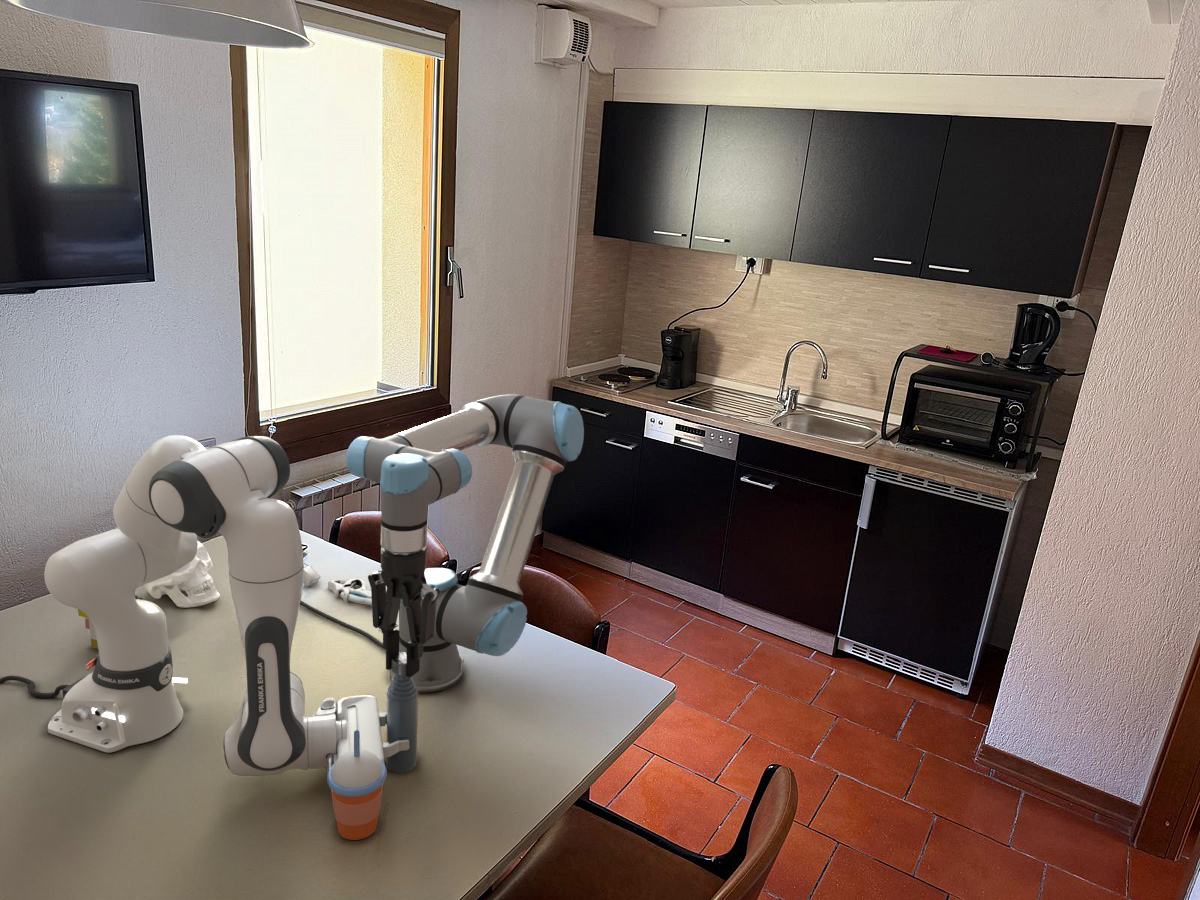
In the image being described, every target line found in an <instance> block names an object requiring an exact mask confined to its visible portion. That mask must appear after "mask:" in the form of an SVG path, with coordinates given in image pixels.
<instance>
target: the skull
mask: <svg viewBox="0 0 1200 900" xmlns="http://www.w3.org/2000/svg"><path fill="white" fill-rule="evenodd" d="M213 568H214V565H213V562H212V559H211V557H210V554H209V552H208V550H207V548H206V547H205V545H204V544H203V543H201V541H199V540H198V549H197V553H196V556H195V558H194V559H193V560H192V561H191V562H189V563H188V564H186V565H185V566H183V567H182V568H180V569H179V570H177V571H175V572H174V573H172V574H170V575H167V576H165V577H162V578H160V579H157V580H155V581H152V582H150V583H147V584H144V585H142V586H143V587H144V588H145V590H146V591H147V592H148V594H149V595H150V596H151V597H152V598H154V599H161V598H162V596H164V595H167V596H168V597H169V598H170V599H171V600H172V602H173V603H174V604H175V603H176V604H175V605H176V607H178V608H185V609H186V608H188V609H189V608H196V607H202V606H205V605H208V604H211V603H213V602H217V601H218V600H219V599H220V598H221V593H220V592H218V590H217V587H216V586H215V584H214V583H215V580H214V579H213V577H212V576H211V575H210V574H209V573H208V572H209V571H210V570H212V569H213ZM203 588H204V589H203ZM182 591H183V592H185V593H186V594H187V595H185V594H184V593H182ZM179 604H183V605H179ZM185 604H186V605H185Z"/></svg>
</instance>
